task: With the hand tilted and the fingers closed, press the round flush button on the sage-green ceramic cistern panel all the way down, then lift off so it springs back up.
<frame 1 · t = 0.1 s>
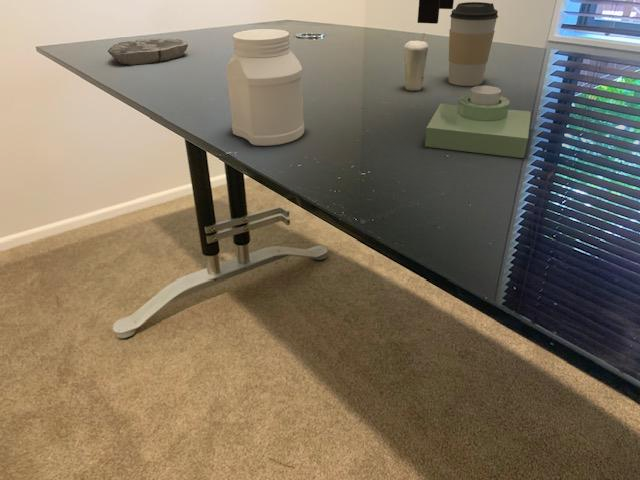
hand: (436, 15, 75), 17 cm above the table, tool pointing down, fingers open, 13 cm apart
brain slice: (147, 58, 130), on the table
coffee cup: (465, 82, 105), on the table
cistern panel: (477, 138, 78), on the table
jar: (268, 133, 81), on the table
flush button: (485, 96, 77), point 6 cm above the table, slide at 0.1 cm
milkshake: (414, 89, 101), on the table
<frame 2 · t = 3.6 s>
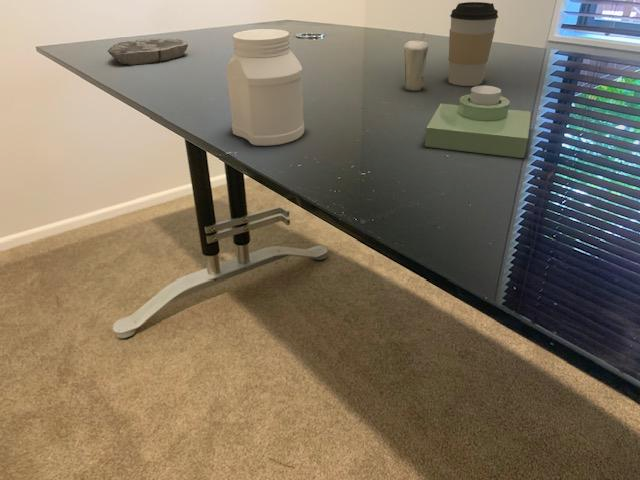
nothing on the table moved.
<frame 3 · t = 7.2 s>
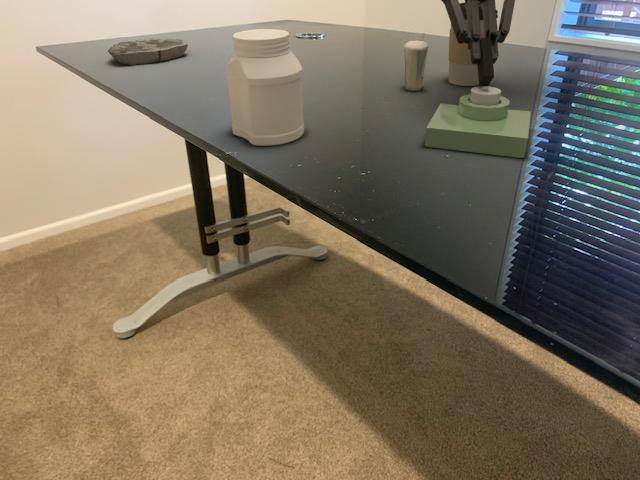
hand: (486, 81, 76), 8 cm above the table, tool tilted 45°, fingers closed
flush button: (485, 96, 77), point 6 cm above the table, slide at 0.0 cm, touching gripper
everything else where it was.
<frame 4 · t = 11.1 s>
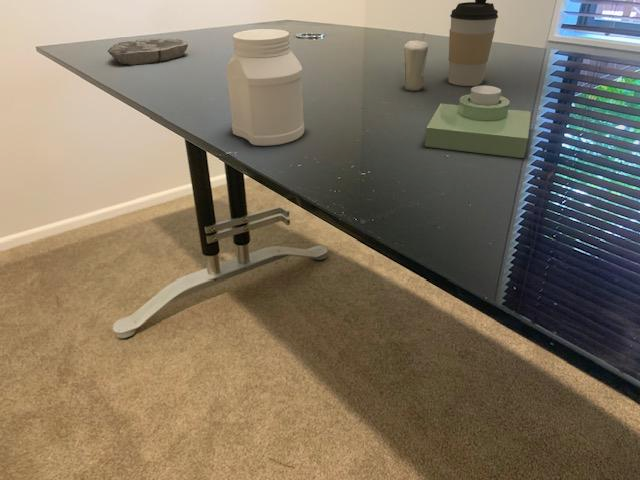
flush button: (485, 96, 77), point 6 cm above the table, slide at 0.1 cm
everything else where it was.
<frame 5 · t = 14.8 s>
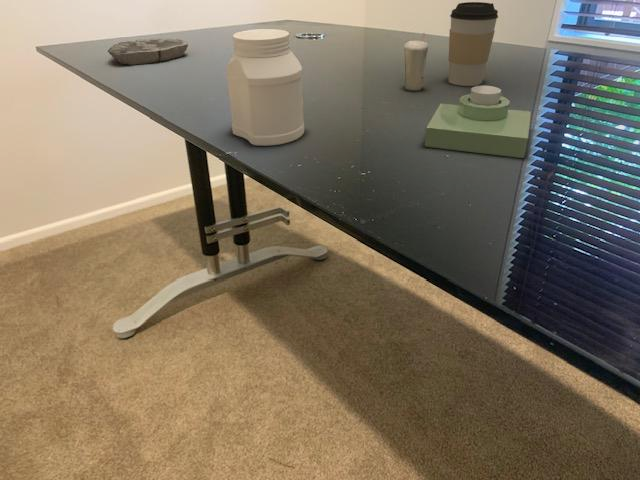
nothing on the table moved.
at the end: flush button pushed in 1.5 cm at the most during the clip, back to where it started at the end; flush button slide at 0.1 cm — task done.
